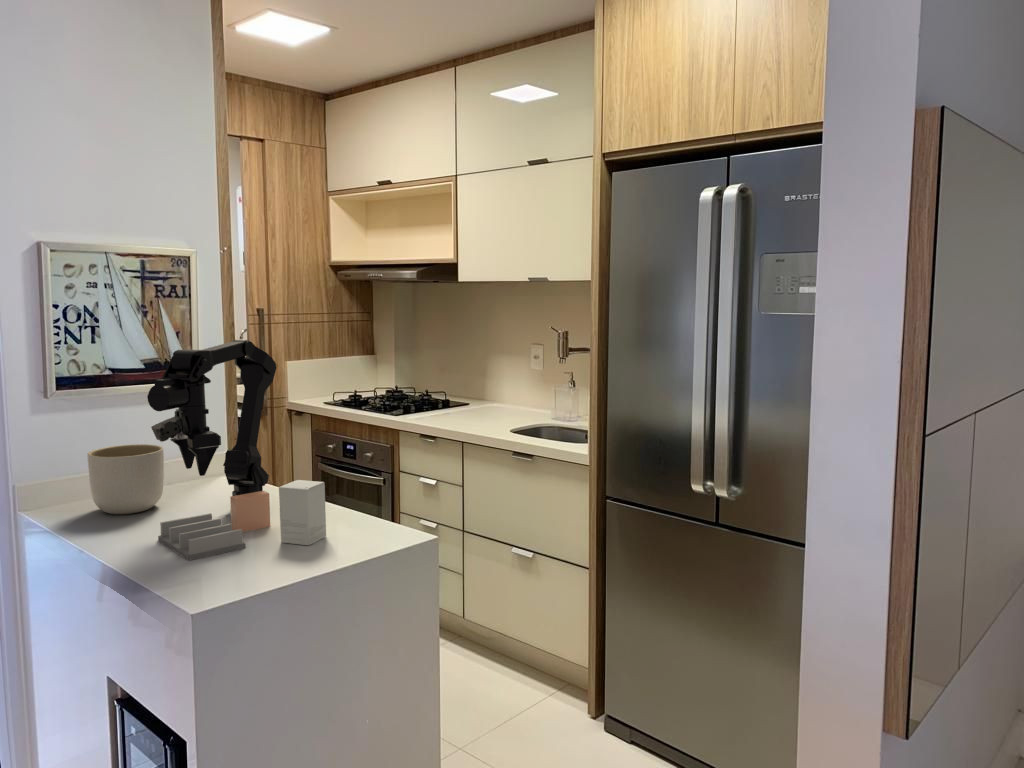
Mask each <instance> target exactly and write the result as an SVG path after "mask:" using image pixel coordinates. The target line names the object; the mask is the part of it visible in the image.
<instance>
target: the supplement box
mask: <svg viewBox="0 0 1024 768" xmlns="http://www.w3.org/2000/svg"><path fill="white" fill-rule="evenodd" d="M325 484H326V483H325V482H324V481H317V480H316V481H315V480H314V481H313V480H305V479H302V480H301V479H296V480H293V481H291V482H289V483H285V484H283V485H281V486H278V499H279V501H278V503H279V523H280V542H281V543H283V544H284V543H285V544H294V545H300V546H301V545H302V546H311V545H312V544H314V543H317V542H318V541H320V540H322V539H324V538H325V537H327V520H326V519H327V518H326V517H327V515H326V514H327V513H326V491H325V490H326V485H325Z"/></svg>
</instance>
